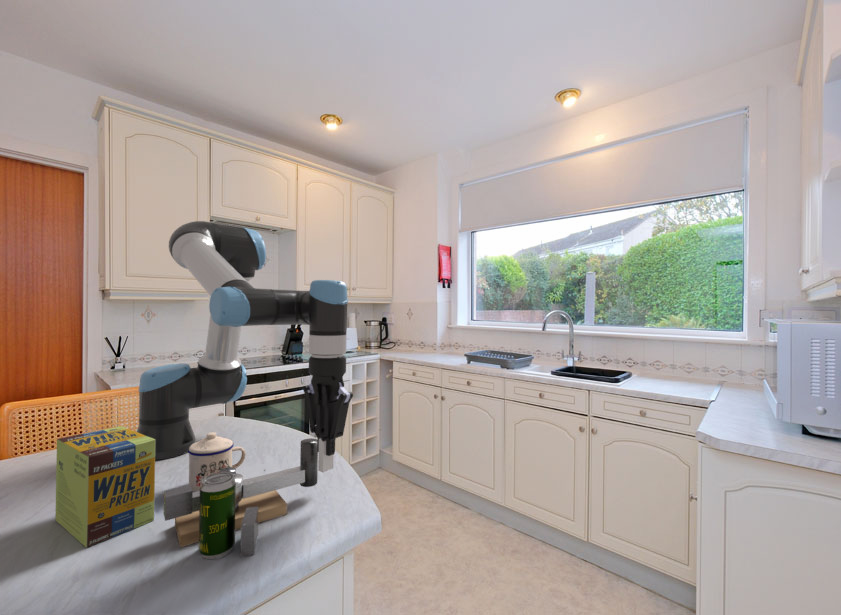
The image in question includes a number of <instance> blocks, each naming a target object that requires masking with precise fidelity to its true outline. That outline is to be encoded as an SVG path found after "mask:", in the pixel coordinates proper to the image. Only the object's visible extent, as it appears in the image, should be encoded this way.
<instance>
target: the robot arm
mask: <svg viewBox="0 0 841 615" xmlns="http://www.w3.org/2000/svg"><path fill="white" fill-rule="evenodd" d="M265 244H266V243H265V241H264V238H263V237H262V234H260V233H259V231H257V230H254V229H251V228H248V227H243V226H236V225H229V224H223V223H216V222H210V221H204V220H195V221H190V222H186V223H185V224H182V225H180V226H178V228H176V229H175V230H174V231H173V233H172V234H171V236H170V237H169V240H168V250H169V254H170V256H171V257H172V259H173V260H174V261H175V263H177V265H179V266H180V267H182V268H183V269H186V270H188V271H189V272H190V273H191V274H192V276H193V277H194V278H195V279H196V281H197V282H198V283H199V284H200V285H201V287H202V288H203V289H204V290H205V291H206V292H207V294H208V295H209V296H210V297H209V305H208V308H209V313H210V315H209V324H208V331H207V337H206V338H207V339H206V345H205V353H204V355H203V356H201V357H199V359H198V361H197V367H191V366H190V364H188V363H175V364H174V363H172V364H166V365H165V364H164V365H160V366H155V367H152V368H150V369H146V370H145V371H144V372H142V374H141V375H140V377H139V387H138V392H139V393H138V394H139V396H138V398H139V399H138V402H139V403H138V427H137V430H136V432H138V433H140V434H143V435H145V436H147V437H150V438H153V439H155V461H157V460H164V459H169V458H175V457H178V456H181V455H182V456H183V455H185V454H186V453H188V450H189V447H190V446H191V445H192V444H194V443H196V436H195V433H194V430H193V428H192V424H191V422H190V416H189V415H190V410H191V409H196V408H197V409H198V408H202V407H210V406H214V405H225V404H227V403H230V402H235V401H237V400H238V399H240V398H241V397H242V396H243V395H244V392H245V390H246V387H247V382H248V377H247V375H248V374H247V373H248V372H247V370H246V367H245V366H244V365H243V364H242V360H241V359H240V358H239V357H238V351H239V345H240V336H241V332H242V327H250V326H251V327H252V326H253V327H254V326H256V327H257V326H288V325H289V326H291V325H295V326H296V325H299V326H301V325H304V326H305V325H307V326H308V327H309V331H308V333H309V335H308V353H309V355H310V356H309V358H308V374H309V375H310V376H312V377H311V380H310V383H309V384H307V385H303V387H302V390H303V393H304V396H305V398H306V399H305V400H306V408H307V415H308V416H307V417H308V422H309V431H310V433H312V434H313V433H314V434H315V437H316V438H317V440H318V443H317V450H318V472H321V473H325V472H328V471H330V470H333V469H334V457H335V456H334V455H335V454H336V439H337V438H340V437H341V438H342V437H343V436H344V432H345V428H346V422H347V416H348V413H349V412H348V411H349V406H350V402H351V401H352V399H353V396H354V394H353V392H352V391H348V390H347V389H346V388H345V382H344V378H343V377H344V375H345V374H346V373H347V357H346V356H345V354H346V353H347V331H348V330H347V328H348V325H347V324H348V304H349V299H348V286H347V284H346V282H344V281H342V280H334V279H333V280H332V279H315V280H312V281H311V282H310V285H309V290H297V289H296V290H294V289H292V290H291V289H271V288H256V287H254V286H253V285H252V284H250V283H249V281H251V280H252V279H254V278H255V274H256V271H259V270H262V269H263V268H264V266H265V263H266V260H267V259H266V258H267V251H266V250H267V248H266V245H265Z"/></svg>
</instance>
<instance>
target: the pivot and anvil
mask: <svg viewBox="0 0 841 615" xmlns="http://www.w3.org/2000/svg"><path fill="white" fill-rule="evenodd" d="M221 472H228V473H232V474H234V477H235V476H236V473H237V468H234V467H227V468H223V469H221V470H220V473H221ZM238 510H239V502H238V503H237V504H235V513H236V512H237V511H238ZM258 536H259V523H258V507H250V508H246V511H245V514H244V518H243V522H242V525H241V528H240V558H242V557H248V556H249V557H250V556H254V555H255V551H256V546H257V541H258Z"/></svg>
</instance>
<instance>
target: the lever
mask: <svg viewBox="0 0 841 615" xmlns="http://www.w3.org/2000/svg"><path fill="white" fill-rule="evenodd" d="M317 443H318V438H317V439H316V438H305V439H301V441H300V451H299V452H300V458H299V459H300V461H299V463H300V465H299V466H296V467H295V466H294V467H292V468H287V469H283V470H278V471H275V472H270V473H267V474H262V475H258V476H254V477H251V478H250V477H249V478H246V479H243V478H244V476H243V475H242V474H240V473H238V472H236V476H235V477H234V479H235V480H236V502H235V504H237V503H238V502H240V501H241V500H242V498H243V499H245V498H248V497H252V496H256V495H259V494H263V493H267V492H270V491H274V490H276V491H278V490H281V489H284V488H288V487H292V486H296V485H300V486H301V487H304V488H310V487H314V486H316V485H318V476H319V475H318V474H319V471H318V457H319V452H318V450H317ZM199 502H200V491H197V492H193V491H192V488H191V486H190V485H189V484H186V485H183V486H177V487H175V488H169V489H165V490H164V491H163V516H164V521H165V522H166V521H170V520H175V518H178V517H181V516H185V515H189V514H192V512H196V511H199Z"/></svg>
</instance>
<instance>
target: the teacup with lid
mask: <svg viewBox="0 0 841 615" xmlns="http://www.w3.org/2000/svg"><path fill="white" fill-rule="evenodd" d="M235 451H240V452H241V456H240V459H239V460H238V462H237V463H235V464H233V452H235ZM187 453H188V454H189V456H188V463H189V464H188V485H190V486H191V488H192V493H193V492H197V491H200V486H201V482H202V479H204V478H205V477H207V476H209V475H211V474H215V473H220V470H221V469H223V468H227V467H234V468H236V469H238V468H239V467H241V465H243V463H244V462H245V460H246V456H247V453H246V450H245V449H244V448H243V447H242V446H234V441H232V440H231V439H229V438H225V437H221V436H218V435H217V432H213V431H212V432H208V433H207V434H206V437H203V438H202V439H201V440H199V441H195V443H194V444H192V445H191V446H190V447H189V450H188V452H187Z"/></svg>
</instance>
